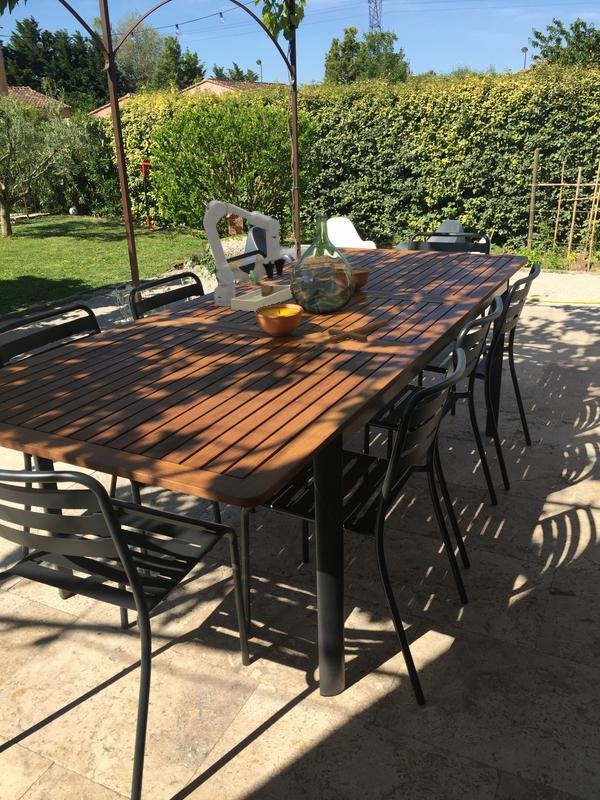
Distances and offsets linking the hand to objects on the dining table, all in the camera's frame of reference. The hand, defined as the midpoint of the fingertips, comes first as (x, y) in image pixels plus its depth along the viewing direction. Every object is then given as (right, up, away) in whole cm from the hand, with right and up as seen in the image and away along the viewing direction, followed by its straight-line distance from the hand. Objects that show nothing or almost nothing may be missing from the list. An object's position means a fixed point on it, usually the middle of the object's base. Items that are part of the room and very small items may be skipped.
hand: (275, 277), depth 289 cm
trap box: (-4, -12, -5) cm, 14 cm away
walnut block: (-3, -9, -3) cm, 10 cm away
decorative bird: (-14, +3, +36) cm, 39 cm away
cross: (+33, -32, -59) cm, 74 cm away
